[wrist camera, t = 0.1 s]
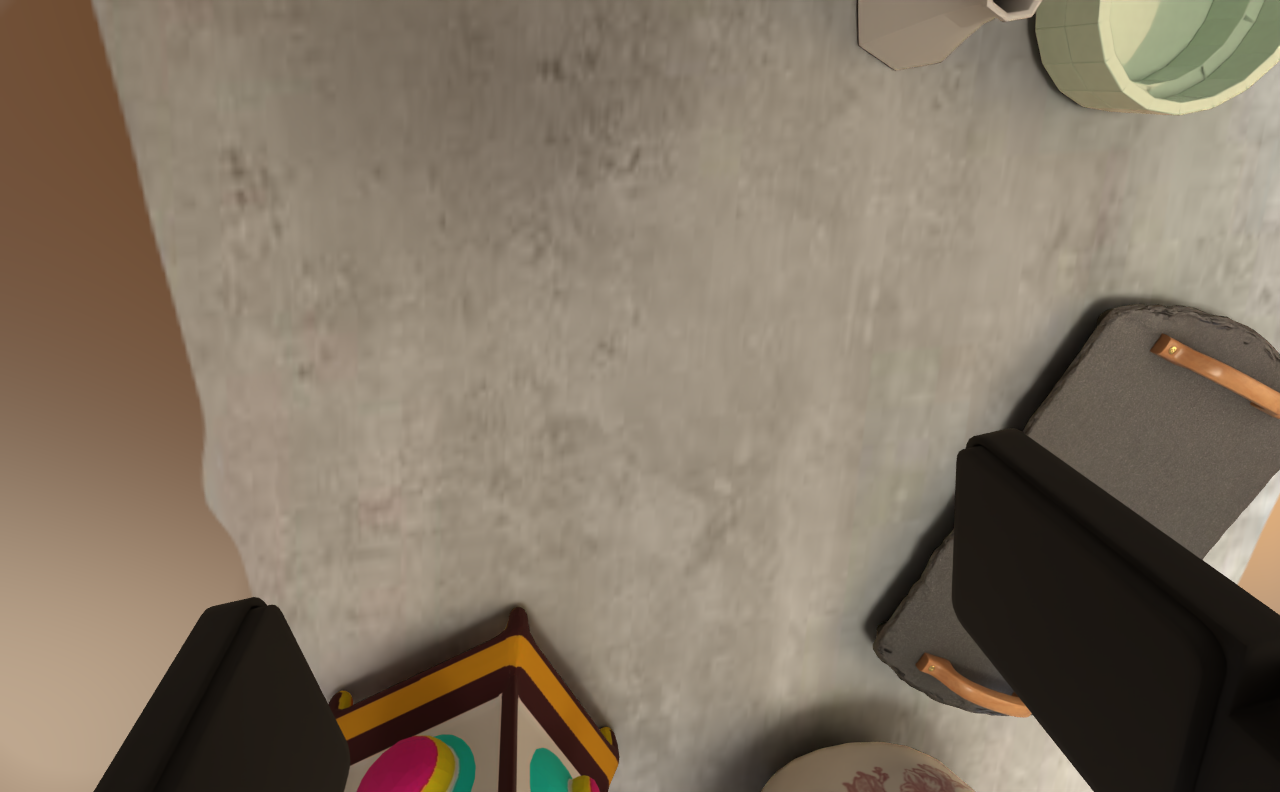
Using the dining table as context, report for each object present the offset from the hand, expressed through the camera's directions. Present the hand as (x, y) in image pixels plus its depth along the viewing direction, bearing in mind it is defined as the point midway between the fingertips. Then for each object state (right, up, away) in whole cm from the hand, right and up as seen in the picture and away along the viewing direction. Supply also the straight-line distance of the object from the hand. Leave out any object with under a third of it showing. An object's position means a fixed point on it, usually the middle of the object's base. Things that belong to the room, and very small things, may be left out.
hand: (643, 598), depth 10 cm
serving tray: (+36, -8, +50) cm, 62 cm away
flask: (+16, +26, +32) cm, 44 cm away
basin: (+30, +28, +33) cm, 52 cm away
